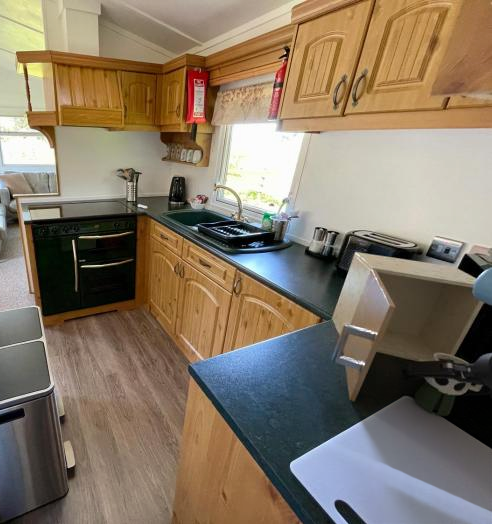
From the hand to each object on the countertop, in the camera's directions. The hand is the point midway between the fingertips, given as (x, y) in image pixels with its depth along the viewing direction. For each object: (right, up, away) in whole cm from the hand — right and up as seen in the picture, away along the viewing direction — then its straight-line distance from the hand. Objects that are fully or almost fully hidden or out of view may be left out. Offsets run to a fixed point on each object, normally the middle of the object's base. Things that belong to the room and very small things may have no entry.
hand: (432, 381), depth 70 cm
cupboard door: (-16, 0, +11) cm, 19 cm away
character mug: (-1, -6, -1) cm, 6 cm away
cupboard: (+8, +3, +24) cm, 26 cm away
